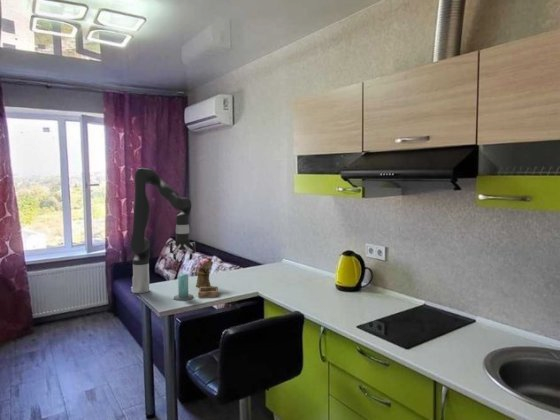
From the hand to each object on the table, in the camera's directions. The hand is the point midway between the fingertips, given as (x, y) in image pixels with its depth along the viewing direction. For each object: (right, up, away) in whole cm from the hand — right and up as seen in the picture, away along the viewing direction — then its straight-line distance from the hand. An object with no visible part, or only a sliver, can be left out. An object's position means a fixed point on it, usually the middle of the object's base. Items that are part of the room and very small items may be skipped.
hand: (182, 260), depth 224 cm
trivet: (0, -22, +2) cm, 22 cm away
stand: (+13, -22, +8) cm, 27 cm away
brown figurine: (+8, -21, +25) cm, 33 cm away
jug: (0, -22, 0) cm, 22 cm away
